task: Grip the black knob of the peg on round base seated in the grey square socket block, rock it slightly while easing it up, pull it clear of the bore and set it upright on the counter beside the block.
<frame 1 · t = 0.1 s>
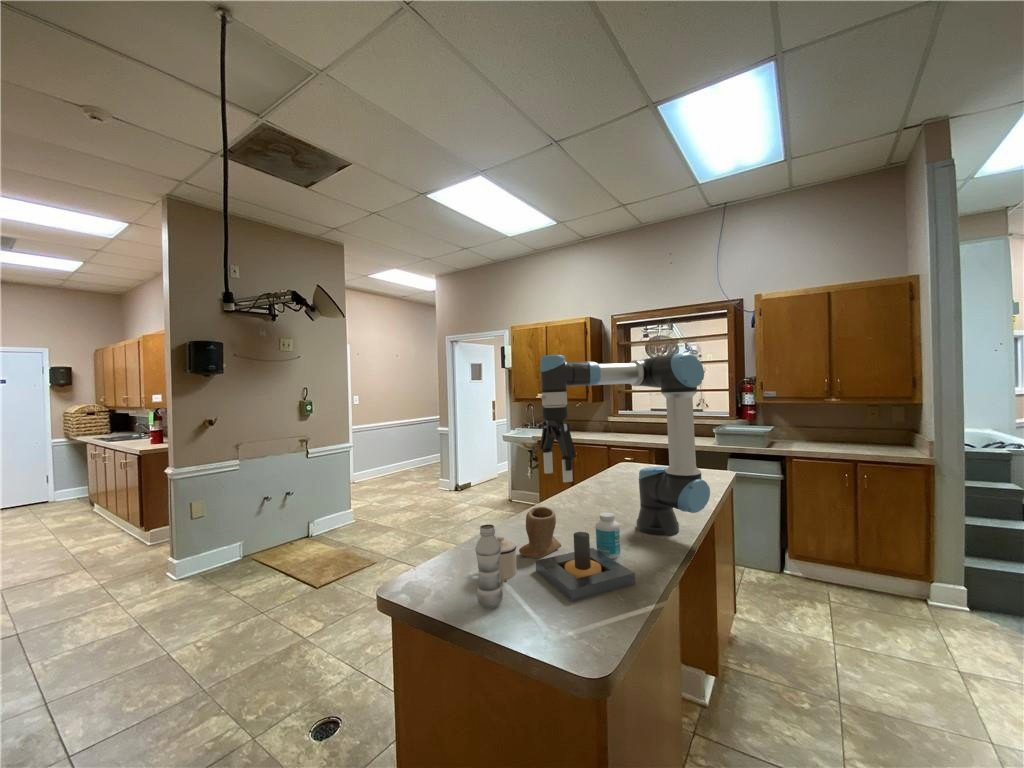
hand: (557, 477, 123), 28 cm above the countertop, fingers open, 13 cm apart
peg on round base: (583, 577, 116), point 1 cm above the countertop, touching grey square socket block
pill bottle: (608, 557, 131), on the countertop
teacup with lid: (498, 575, 122), on the countertop
plastic bottle: (490, 605, 105), on the countertop
stone cup: (543, 553, 137), on the countertop
grey square socket block: (583, 580, 116), on the countertop
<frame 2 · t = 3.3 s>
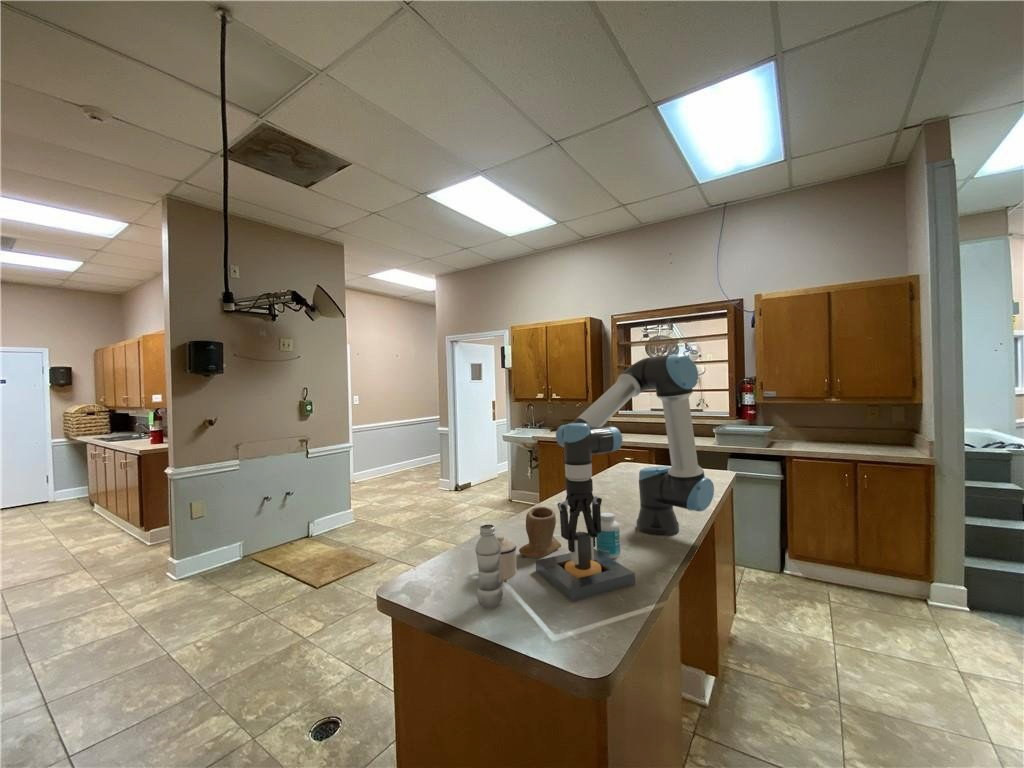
hand: (582, 560, 116), 6 cm above the countertop, fingers closed on peg on round base, 4 cm apart
peg on round base: (583, 577, 116), point 1 cm above the countertop, touching grey square socket block, gripper
everything else where it was.
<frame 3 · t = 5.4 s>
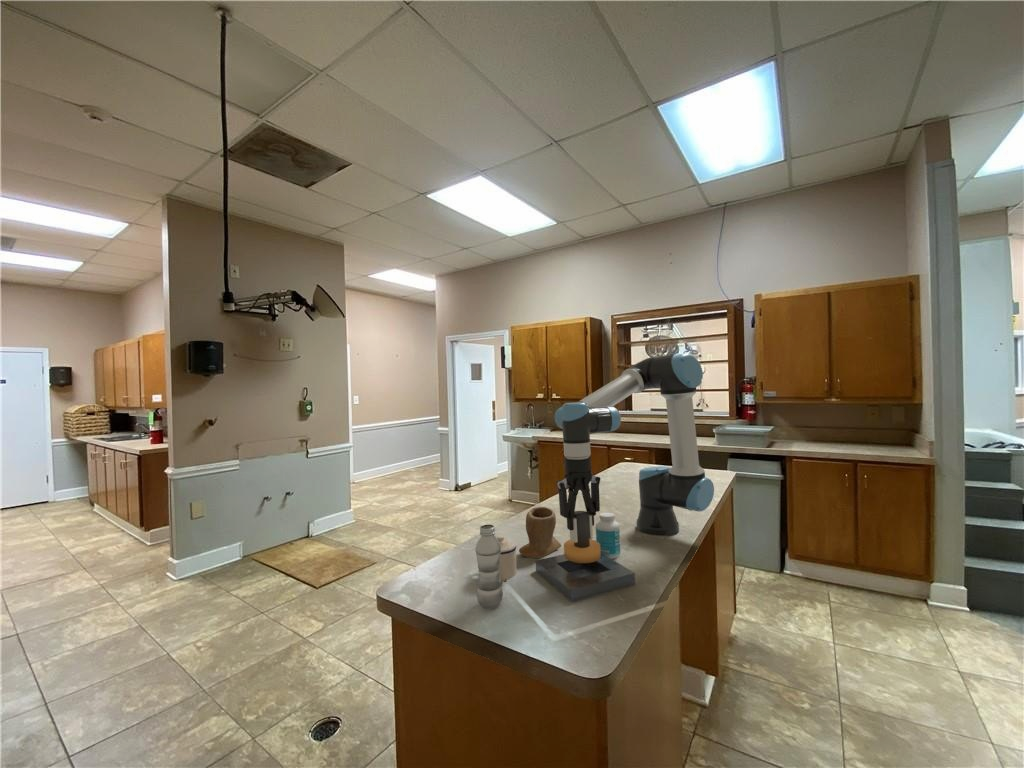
hand: (581, 538, 116), 12 cm above the countertop, fingers closed on peg on round base, 4 cm apart
peg on round base: (582, 555, 116), point 7 cm above the countertop, touching gripper
everything else where it was.
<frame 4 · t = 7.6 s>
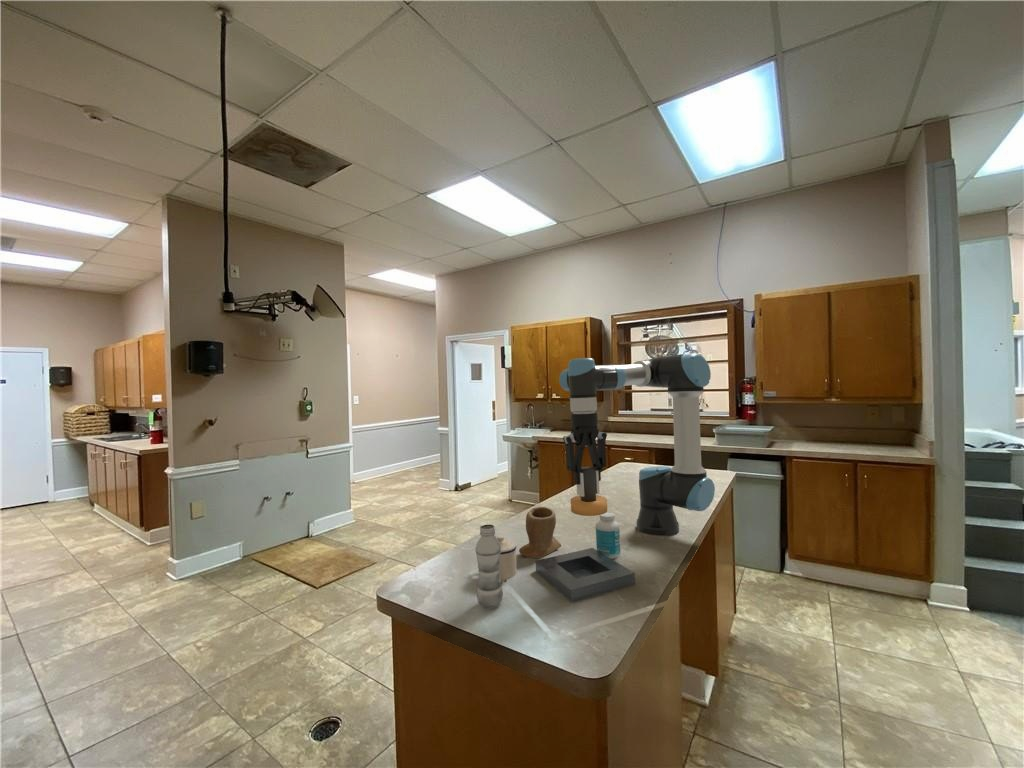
hand: (588, 493, 117), 24 cm above the countertop, fingers closed on peg on round base, 4 cm apart
peg on round base: (589, 510, 117), point 19 cm above the countertop, touching gripper
everything else where it was.
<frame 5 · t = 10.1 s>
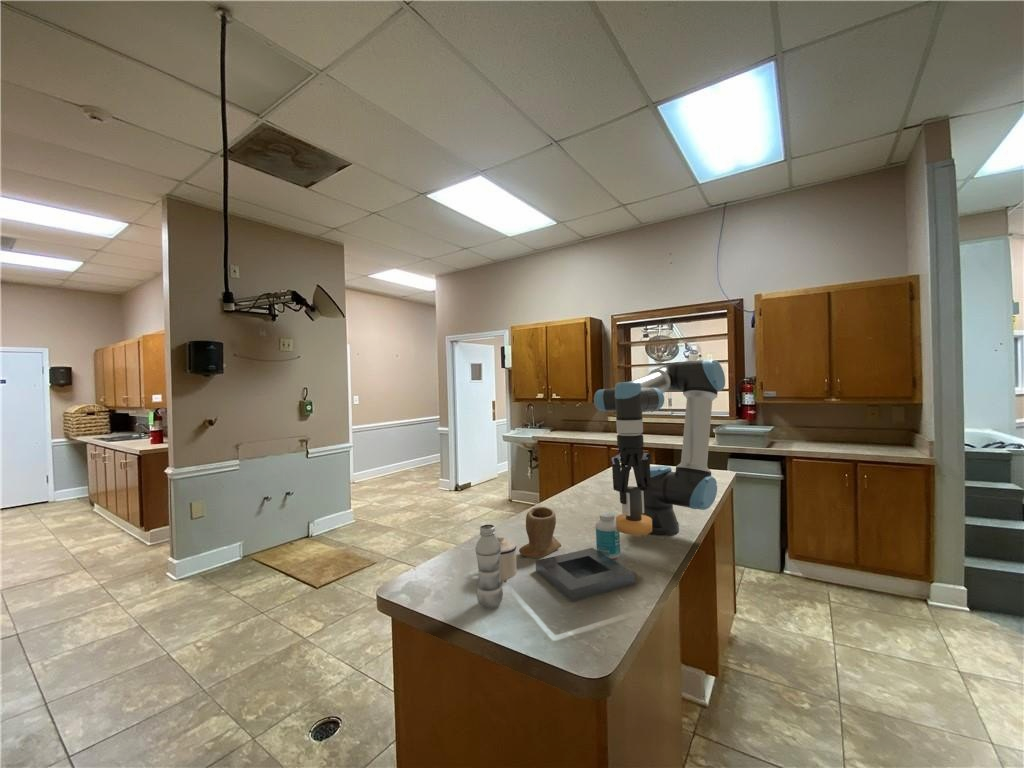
hand: (633, 513, 121), 17 cm above the countertop, fingers closed on peg on round base, 4 cm apart
peg on round base: (634, 528, 121), point 12 cm above the countertop, touching gripper
everything else where it was.
when the fingers open (6 cm above the countertop, at t = 12.3 s): peg on round base drops 2 cm, on the countertop.
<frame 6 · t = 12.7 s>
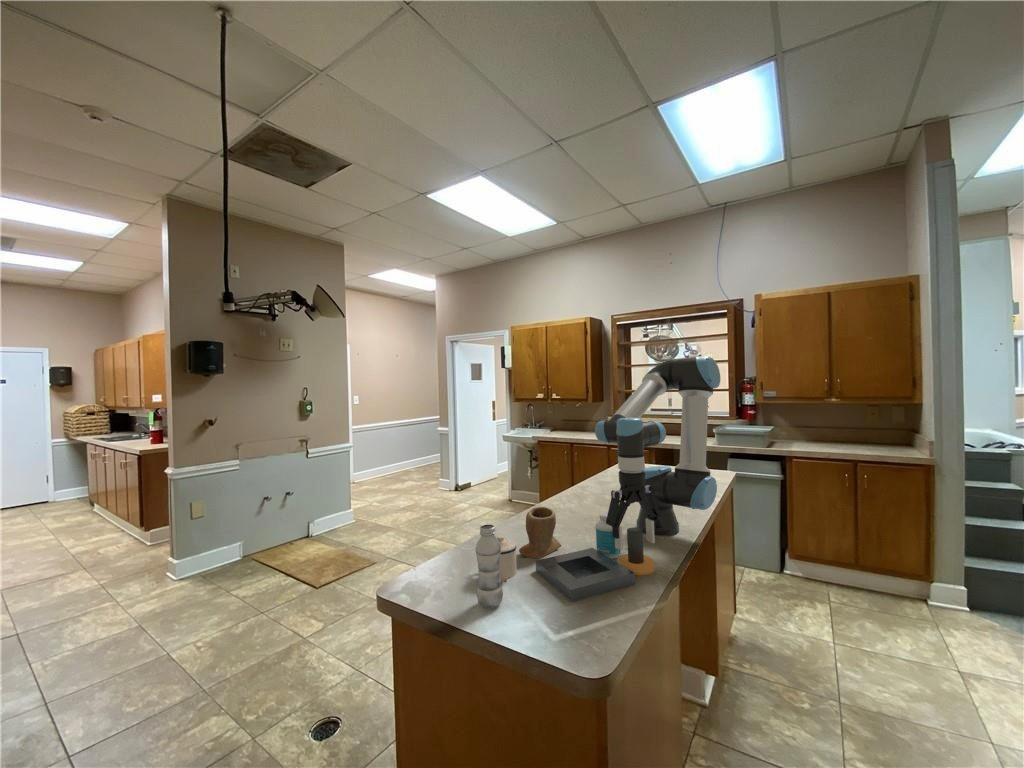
hand: (635, 545, 121), 7 cm above the countertop, fingers open, 11 cm apart
peg on round base: (636, 570, 121), on the countertop
everything else where it was.
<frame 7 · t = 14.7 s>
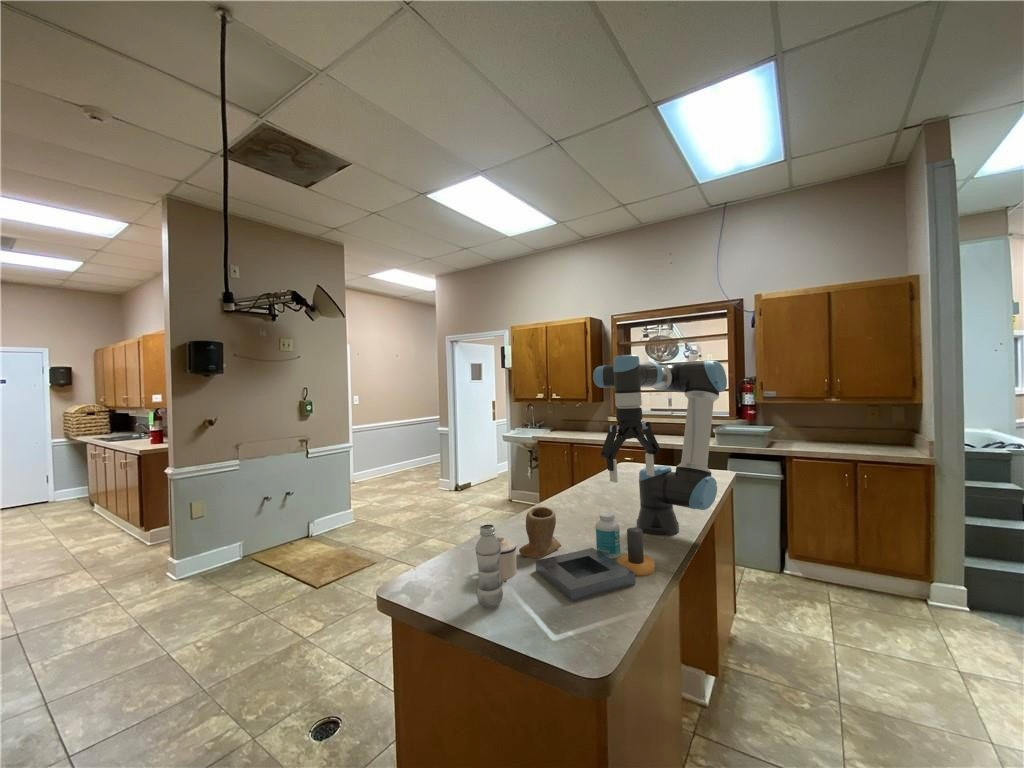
hand: (632, 478, 122), 27 cm above the countertop, fingers open, 13 cm apart
nothing on the countertop moved.
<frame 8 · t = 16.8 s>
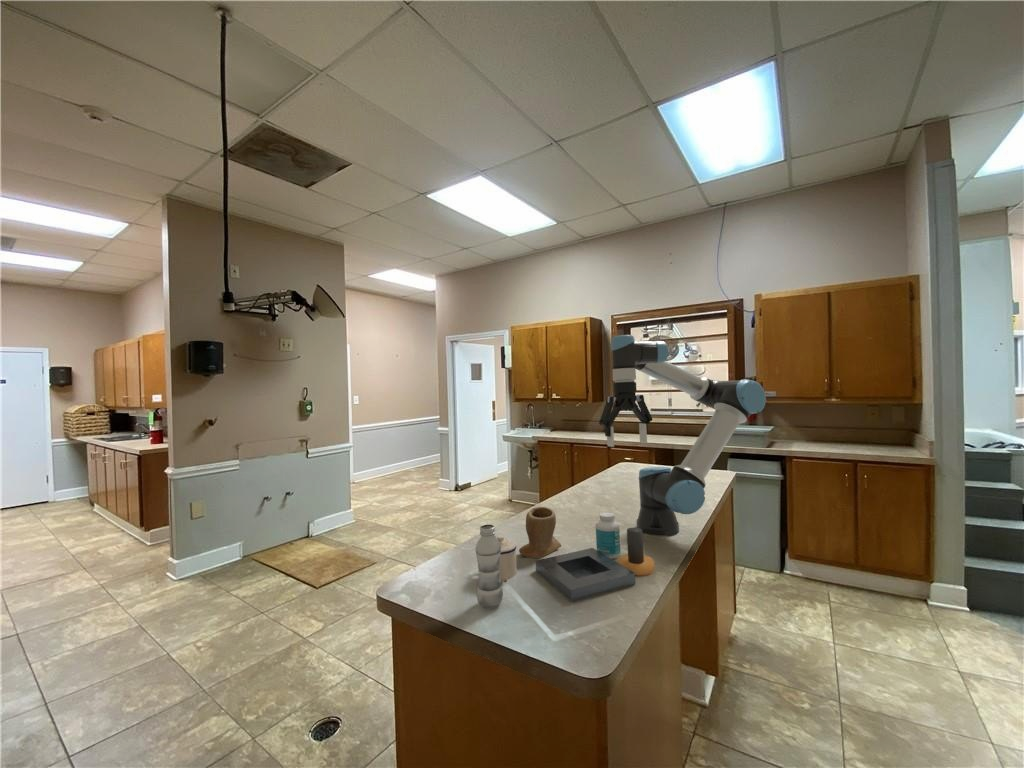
hand: (627, 444, 138), 35 cm above the countertop, fingers open, 13 cm apart
nothing on the countertop moved.
at the end: peg on round base inside the target area (0.0 cm from its centre), on the countertop; peg on round base tilted 0°; the gripper is holding nothing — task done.
